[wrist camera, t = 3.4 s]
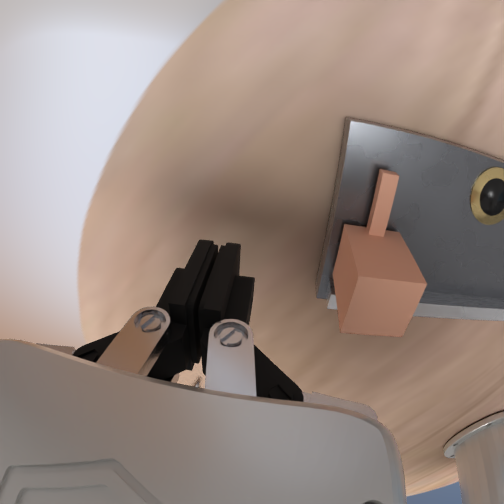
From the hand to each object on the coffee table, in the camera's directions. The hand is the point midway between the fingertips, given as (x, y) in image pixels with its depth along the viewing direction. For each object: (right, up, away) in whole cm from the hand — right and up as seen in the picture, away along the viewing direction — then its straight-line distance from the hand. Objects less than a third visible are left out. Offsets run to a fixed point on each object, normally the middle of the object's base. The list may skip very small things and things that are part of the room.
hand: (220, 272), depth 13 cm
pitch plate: (+17, +2, +3) cm, 18 cm away
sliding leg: (+7, +2, +2) cm, 8 cm away
